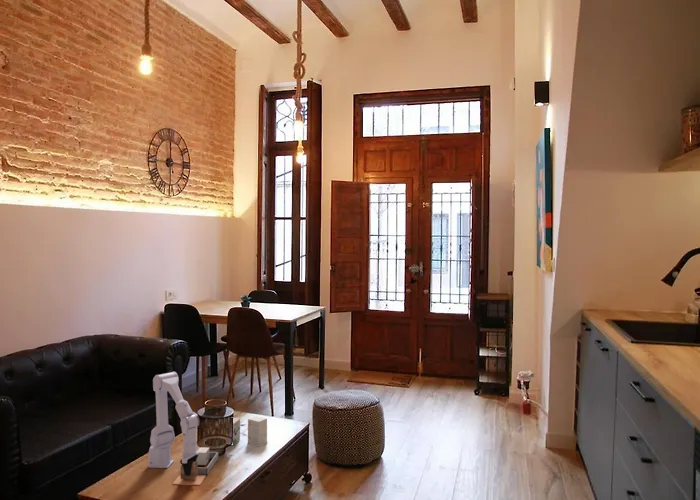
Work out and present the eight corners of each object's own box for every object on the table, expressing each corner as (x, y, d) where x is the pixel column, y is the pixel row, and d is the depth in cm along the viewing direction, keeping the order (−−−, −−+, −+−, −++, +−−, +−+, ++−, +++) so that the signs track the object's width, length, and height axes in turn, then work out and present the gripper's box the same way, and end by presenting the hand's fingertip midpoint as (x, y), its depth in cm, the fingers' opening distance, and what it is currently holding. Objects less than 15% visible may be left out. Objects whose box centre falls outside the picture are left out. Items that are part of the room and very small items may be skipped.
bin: (180, 473, 247) (180, 467, 247) (193, 457, 265) (193, 451, 265) (207, 474, 247) (207, 468, 247) (218, 458, 265) (218, 452, 265)
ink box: (233, 446, 280) (233, 423, 279) (224, 445, 281) (224, 422, 280) (240, 439, 288) (240, 417, 288) (231, 439, 289) (231, 416, 289)
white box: (196, 464, 257) (196, 452, 257) (200, 459, 263) (200, 447, 263) (205, 465, 257) (205, 452, 257) (209, 459, 263) (209, 447, 263)
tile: (172, 484, 237) (172, 483, 237) (179, 475, 246) (179, 474, 246) (199, 485, 236) (199, 484, 236) (206, 476, 245) (206, 475, 245)
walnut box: (194, 479, 239) (194, 465, 238) (180, 479, 239) (180, 465, 239) (197, 475, 243) (197, 461, 243) (184, 474, 243) (184, 460, 243)
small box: (267, 442, 285) (267, 418, 284) (259, 446, 279) (259, 421, 279) (255, 439, 289) (255, 415, 289) (247, 443, 284) (247, 418, 283)
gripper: (193, 449, 233) (193, 480, 233) (203, 436, 247) (203, 465, 248) (177, 448, 233) (177, 479, 234) (188, 436, 248) (188, 465, 248)
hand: (189, 472), depth 241 cm, fingers closed on walnut box, 4 cm apart
